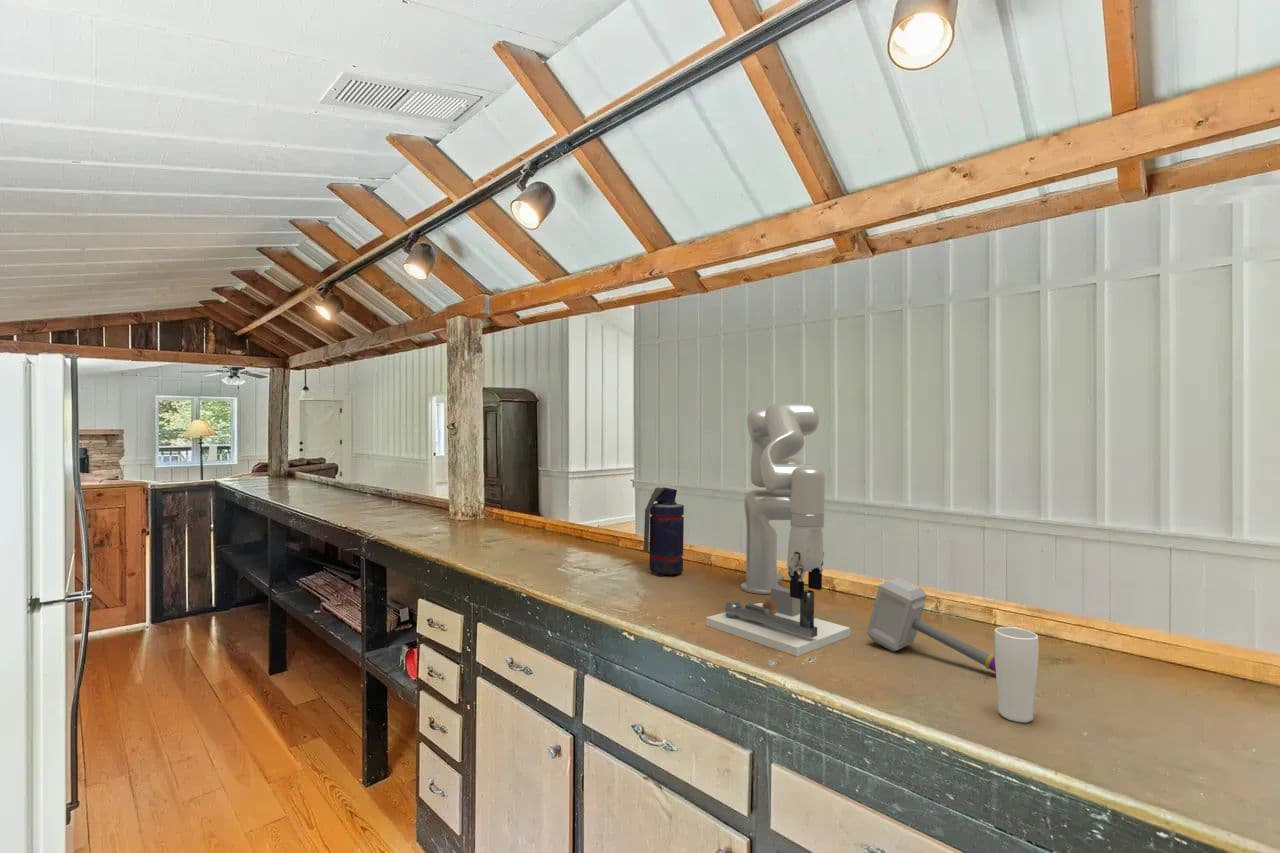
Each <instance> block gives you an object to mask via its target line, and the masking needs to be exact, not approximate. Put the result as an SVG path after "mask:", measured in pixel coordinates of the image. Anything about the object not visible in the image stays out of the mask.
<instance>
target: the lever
mask: <svg viewBox="0 0 1280 853" xmlns="http://www.w3.org/2000/svg"><path fill="white" fill-rule="evenodd" d="M799 614H800V622H797V621H794V620H790V619H787V618H783V617H779V616H776V615H772V614H769V609H768V608H764V607H761V606H757V605H754V604H752V603H748V604H745V606H743V605H742V603H741V602H739V601H735V600H730V601H729V600H728V601H726V602H725V615H726V616H729V617H742V618H746V619H749V620H753V621H756V622H759V623H763V624H766V625H769V626H773V627H776V628H780V629H783V630H786V631H790V632H793V633H796V634H800V635H803V636H806V637H810V638H813V637H815V636H817V627H815V626H814V618H815V591H813V590H812V589H804V598H803V599H799Z"/></svg>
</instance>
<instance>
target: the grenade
mask: <svg viewBox="0 0 1280 853" xmlns="http://www.w3.org/2000/svg"><path fill="white" fill-rule="evenodd" d="M677 492H678V490H677V489H675V488H668V487H659V486H658V487H655V488H654V490H653V492H652V493H651V494H650V495H651V496H650V498H649V500H648V503H647V505H646V508H645V509H644V528H643V550H644V551H645V552H646V553H649V567H648V568H649V571H650V572H651V573H655V574H656V576H657V577H662V578H663V577H664V576H665V575H677V576H681V575H682V572H683V571H684V557H683V556H684V537H685V536H684V533H685V530H684V525H685V524H684V523H685V521H684V520H685V519H684V514H685V512H684V510H685V509H684V507H685V506H684V505H683V504H680V503H677V502H676V496H677Z"/></svg>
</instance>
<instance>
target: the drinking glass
mask: <svg viewBox="0 0 1280 853" xmlns="http://www.w3.org/2000/svg"><path fill="white" fill-rule="evenodd" d="M993 638H994V639H993V640H994V641H993V643H994V644H993V653H994V654H993V655H994V656H995V668H996V672H995V678H996V690H997V709H998V714H1000V716H1001V717H1003V718H1004V719H1006V720H1009V721H1011V722H1015V723H1030V722H1031V721H1032V720H1033V719H1034V705H1035V696H1036V694H1035V693H1036V686H1037V677H1038V669H1039V652H1040V651H1039V650H1040V649H1039V648H1040V647H1039V646H1040V645H1039V644H1040V643H1039V636H1038V634H1037V633H1035V632H1033V631H1030V630H1028V629H1024V628H1020V627H1013V626H1000V627H999V626H998V627H996V628H995V629H994V637H993Z"/></svg>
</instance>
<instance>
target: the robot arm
mask: <svg viewBox="0 0 1280 853" xmlns="http://www.w3.org/2000/svg"><path fill="white" fill-rule="evenodd" d="M746 417H747V418H746V425H747V430H748V433H749V437H750V440H751V458H750V480H751V483H752V484H753V486H755V487H759V488H765V489H755V490H754V489H753V490H750V491H748V492H747V493H746V494H745V495H744V499H743V507H744V515H745V523H746V524H745V525H746V526H745V529H746V545H745V546H746V549H745V550H746V552H745V556H746V557H745V559H746V561H745V562H746V564H745V566H746V567H745V568H746V569H745V582H742V583H740V588H741V590H742V591H744V592H748V593H751V594H757V595H771V588H774V587H782V586H781V585H780V584H779V582H780V581H783V580H785V579H786V578H785V575H784V574H783V573H780V574H779V573H777V567H778V566H777V565H778V564H777V563H778V562H777V561H778V555H777V553H778V535H777V532H776V530H775V528H774V526H772V525H771V524H770V521H790V531H789V537H788V545H787V560H786V562H787V563H786V564H787V565H786V567H787V570H788V573H787V574H788V576H789V577H788V579H789V589H790V597H793V598H797V599H799V600H800V599H803V598H804V590H805V581H804V580H803V579H804V576H805V573H808V574H807V575H808V580H807V582H808V583H807V587H808V588H809V589H810V590H812V589H813V590H817V591H820V590H821V591H822V588H823V586H822V585H823V572H824V570H823V565H824V557H825V552H824V537H823V529H824V528H825V492H826V491H825V487H826V486H825V484H826V482H825V481H826V479H825V478H826V477H825V475H826V474H825V472H824V470H823V469H822V468H819V466H817V465H815V464H809V463H803V464H801V462H800V461H799V459H797V458H794V457H793V456H795V455H797V454H798V453H799V452H801V450H802V449H803V447H804V445H805V436H809V435H812V434H813V433H814V432H816V431H817V429H818V427H819V422H820V419H819V413H818V410H817V408H816V407H815V405H813V404H811V402H810V403H809V402H776V403H772V404H771V405H769V406H768V407H764V408H763V407H761V408H760V407H759V408H758V407H757V408H754V409H751V410H749V412H748V413H747V416H746Z"/></svg>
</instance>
